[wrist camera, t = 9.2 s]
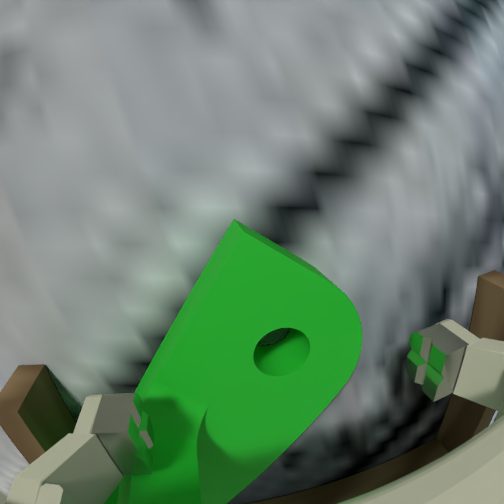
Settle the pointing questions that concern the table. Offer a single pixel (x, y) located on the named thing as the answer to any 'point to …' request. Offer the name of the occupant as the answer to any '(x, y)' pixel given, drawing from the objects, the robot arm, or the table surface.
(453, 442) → the walnut bay
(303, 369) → the mechanical part
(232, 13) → the table surface
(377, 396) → the table surface
